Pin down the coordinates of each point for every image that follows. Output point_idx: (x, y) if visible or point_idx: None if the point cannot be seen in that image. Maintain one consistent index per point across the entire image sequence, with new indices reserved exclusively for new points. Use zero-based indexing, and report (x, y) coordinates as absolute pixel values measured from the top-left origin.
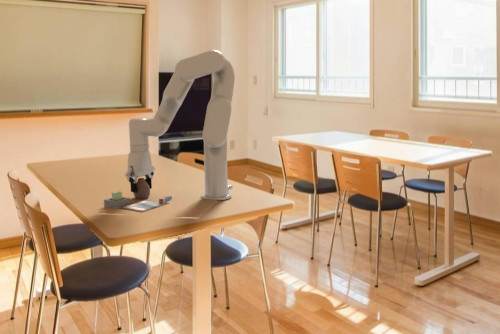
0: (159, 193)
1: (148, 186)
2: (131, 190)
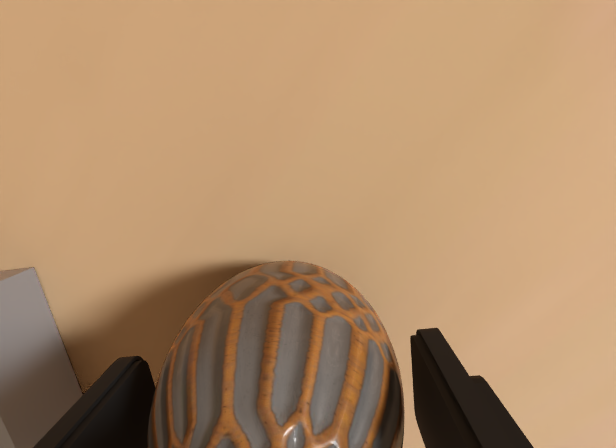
0: (581, 276)
1: None
2: (113, 378)
